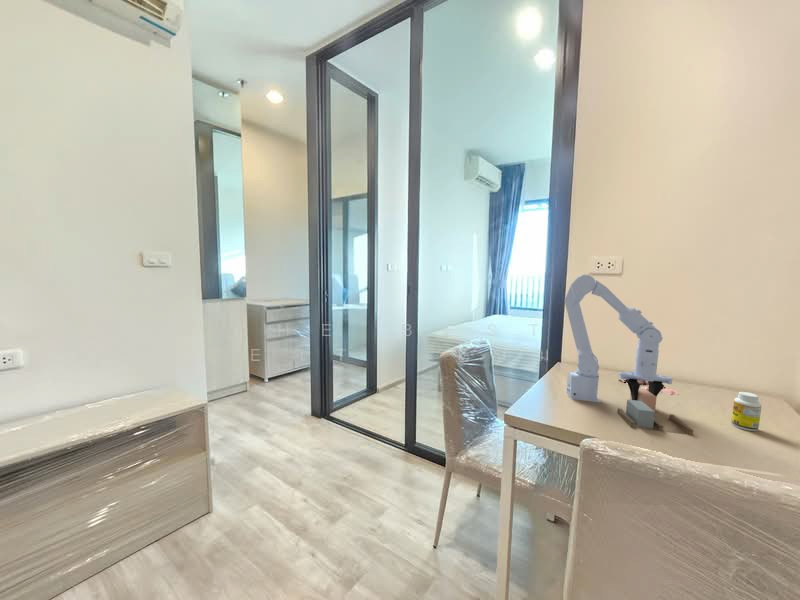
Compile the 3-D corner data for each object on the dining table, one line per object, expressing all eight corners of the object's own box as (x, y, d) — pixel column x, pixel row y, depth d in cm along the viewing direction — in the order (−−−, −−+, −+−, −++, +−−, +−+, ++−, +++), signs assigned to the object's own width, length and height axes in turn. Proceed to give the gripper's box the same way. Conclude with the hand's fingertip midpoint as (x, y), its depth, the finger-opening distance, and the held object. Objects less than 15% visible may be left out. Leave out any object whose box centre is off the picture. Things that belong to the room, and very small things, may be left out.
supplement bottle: (729, 421, 101) (733, 389, 100) (756, 427, 97) (760, 394, 96) (732, 427, 96) (736, 394, 96) (759, 434, 93) (764, 399, 92)
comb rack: (630, 428, 94) (631, 422, 94) (617, 414, 104) (617, 408, 103) (692, 436, 90) (693, 429, 90) (672, 421, 100) (673, 414, 100)
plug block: (640, 410, 105) (642, 395, 105) (629, 401, 113) (631, 387, 113) (655, 411, 104) (656, 396, 104) (642, 402, 112) (644, 388, 112)
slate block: (637, 426, 94) (638, 409, 94) (625, 415, 102) (627, 399, 102) (653, 428, 93) (654, 411, 93) (640, 416, 101) (641, 401, 101)
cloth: (690, 398, 121) (691, 392, 121) (630, 396, 121) (631, 390, 121) (649, 380, 141) (649, 374, 141) (598, 378, 142) (599, 373, 141)
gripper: (626, 363, 105) (622, 403, 107) (679, 367, 102) (674, 409, 103) (617, 357, 112) (614, 395, 113) (667, 361, 108) (663, 401, 110)
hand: (642, 402), depth 109 cm, fingers closed on plug block, 4 cm apart
